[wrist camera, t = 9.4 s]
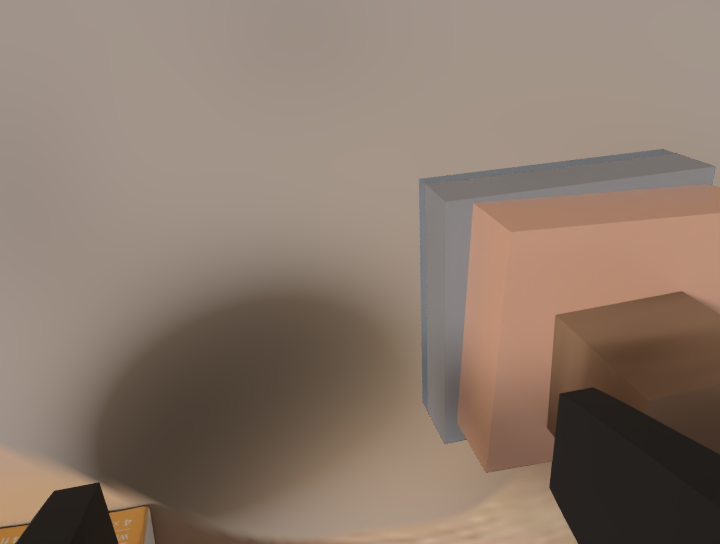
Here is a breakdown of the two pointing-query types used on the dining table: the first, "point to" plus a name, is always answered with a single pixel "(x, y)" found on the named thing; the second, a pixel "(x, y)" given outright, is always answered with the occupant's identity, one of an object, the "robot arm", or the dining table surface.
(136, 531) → the small box
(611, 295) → the terracotta tile
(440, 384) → the slate slab
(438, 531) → the dining table surface
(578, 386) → the walnut cube
